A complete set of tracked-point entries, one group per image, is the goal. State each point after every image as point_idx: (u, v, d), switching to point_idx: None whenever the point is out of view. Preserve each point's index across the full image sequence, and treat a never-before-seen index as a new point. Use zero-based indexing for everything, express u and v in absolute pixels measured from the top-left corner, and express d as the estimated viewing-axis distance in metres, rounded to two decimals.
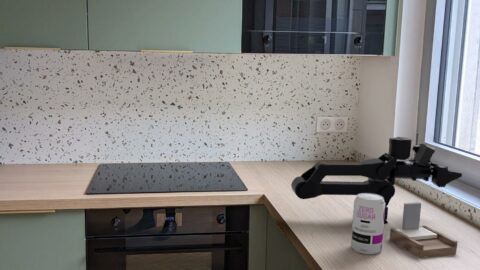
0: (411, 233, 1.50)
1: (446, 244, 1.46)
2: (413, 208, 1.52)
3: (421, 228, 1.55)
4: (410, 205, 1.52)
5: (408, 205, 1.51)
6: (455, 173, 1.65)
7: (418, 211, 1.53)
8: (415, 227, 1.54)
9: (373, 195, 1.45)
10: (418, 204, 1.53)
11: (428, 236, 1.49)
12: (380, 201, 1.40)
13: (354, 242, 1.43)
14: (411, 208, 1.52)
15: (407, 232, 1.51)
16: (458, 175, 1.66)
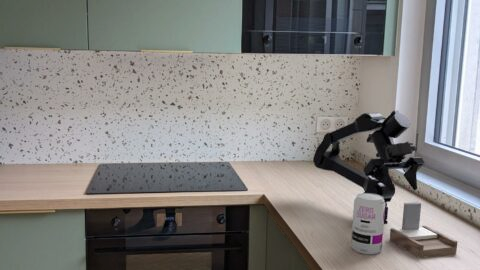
0: (411, 233, 1.50)
1: (446, 244, 1.46)
2: (413, 208, 1.52)
3: (421, 228, 1.55)
4: (410, 205, 1.52)
5: (408, 205, 1.51)
6: (388, 182, 1.56)
7: (418, 211, 1.53)
8: (415, 227, 1.54)
9: (373, 195, 1.45)
10: (418, 204, 1.53)
11: (428, 236, 1.49)
12: (380, 201, 1.40)
13: (354, 242, 1.43)
14: (411, 208, 1.52)
15: (407, 232, 1.51)
16: (390, 187, 1.56)
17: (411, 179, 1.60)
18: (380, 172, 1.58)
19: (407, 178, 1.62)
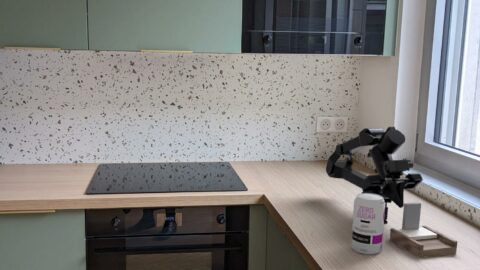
0: (411, 233, 1.50)
1: (446, 244, 1.46)
2: (413, 208, 1.52)
3: (421, 228, 1.55)
4: (410, 205, 1.52)
5: (408, 205, 1.51)
6: (396, 198, 1.58)
7: (418, 211, 1.53)
8: (415, 227, 1.54)
9: (373, 195, 1.45)
10: (418, 204, 1.53)
11: (428, 236, 1.49)
12: (380, 201, 1.40)
13: (354, 242, 1.43)
14: (411, 208, 1.52)
15: (407, 232, 1.51)
16: (397, 203, 1.58)
17: None
18: (388, 188, 1.60)
19: None
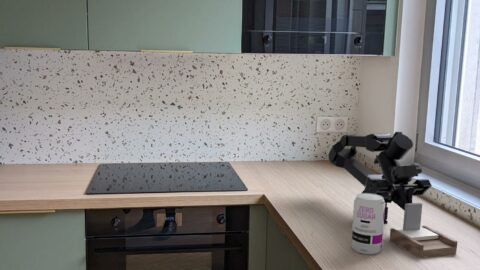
0: (412, 234, 1.49)
1: (446, 244, 1.46)
2: (414, 208, 1.52)
3: (422, 229, 1.54)
4: (411, 205, 1.51)
5: (409, 205, 1.51)
6: None
7: (419, 211, 1.52)
8: (416, 228, 1.53)
9: (373, 195, 1.45)
10: (419, 204, 1.52)
11: (429, 237, 1.48)
12: (380, 201, 1.40)
13: (354, 242, 1.43)
14: (412, 208, 1.51)
15: (408, 233, 1.50)
16: None
17: None
18: (396, 194, 1.56)
19: None
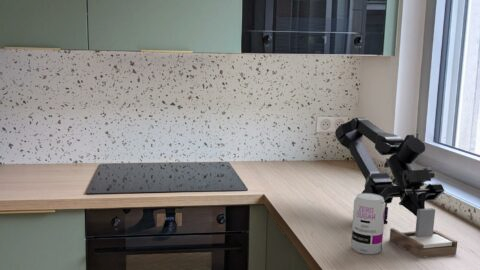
0: (425, 240, 1.44)
1: None
2: (426, 214, 1.47)
3: (435, 235, 1.49)
4: (424, 211, 1.46)
5: (422, 211, 1.46)
6: None
7: (432, 217, 1.47)
8: (429, 234, 1.48)
9: (373, 195, 1.45)
10: (432, 210, 1.47)
11: (443, 244, 1.43)
12: (380, 201, 1.40)
13: (354, 242, 1.43)
14: (425, 214, 1.46)
15: (421, 239, 1.45)
16: None
17: (419, 208, 1.50)
18: (408, 199, 1.51)
19: None
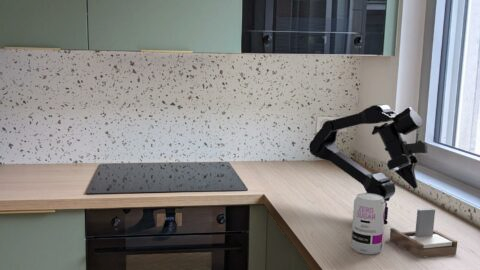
0: (425, 240, 1.44)
1: None
2: (426, 214, 1.47)
3: (435, 235, 1.49)
4: (424, 211, 1.46)
5: (422, 211, 1.46)
6: (413, 179, 1.60)
7: (432, 217, 1.47)
8: (429, 234, 1.48)
9: (373, 195, 1.45)
10: (432, 210, 1.47)
11: (443, 244, 1.43)
12: (380, 201, 1.40)
13: (354, 242, 1.43)
14: (425, 214, 1.46)
15: (421, 239, 1.45)
16: (413, 184, 1.60)
17: None
18: (405, 168, 1.60)
19: None
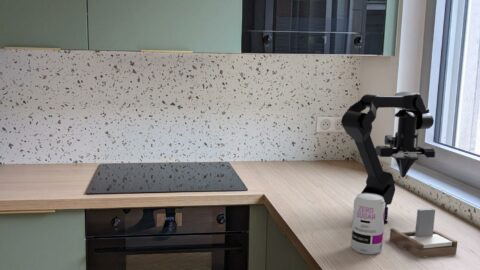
0: (425, 240, 1.44)
1: None
2: (426, 214, 1.47)
3: (435, 235, 1.49)
4: (424, 211, 1.46)
5: (422, 211, 1.46)
6: None
7: (432, 217, 1.47)
8: (429, 234, 1.48)
9: (373, 195, 1.45)
10: (432, 210, 1.47)
11: (443, 244, 1.43)
12: (380, 201, 1.40)
13: (354, 242, 1.43)
14: (425, 214, 1.46)
15: (421, 239, 1.45)
16: None
17: None
18: None
19: None
